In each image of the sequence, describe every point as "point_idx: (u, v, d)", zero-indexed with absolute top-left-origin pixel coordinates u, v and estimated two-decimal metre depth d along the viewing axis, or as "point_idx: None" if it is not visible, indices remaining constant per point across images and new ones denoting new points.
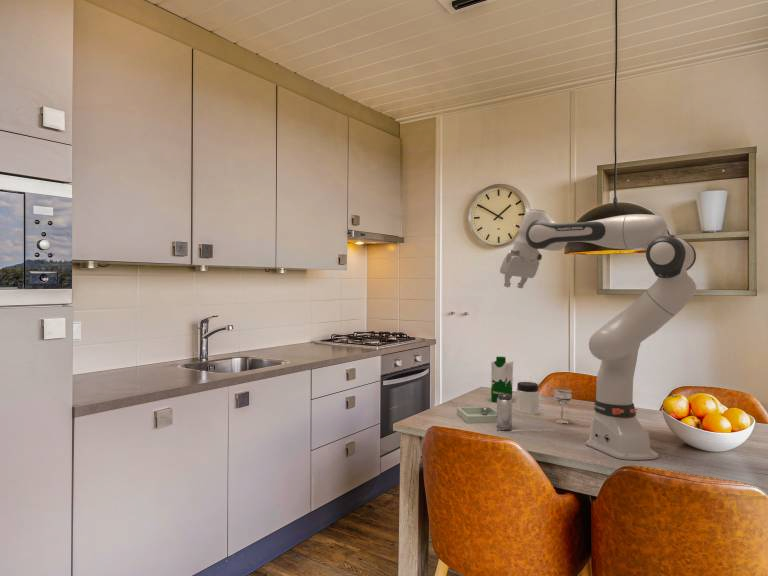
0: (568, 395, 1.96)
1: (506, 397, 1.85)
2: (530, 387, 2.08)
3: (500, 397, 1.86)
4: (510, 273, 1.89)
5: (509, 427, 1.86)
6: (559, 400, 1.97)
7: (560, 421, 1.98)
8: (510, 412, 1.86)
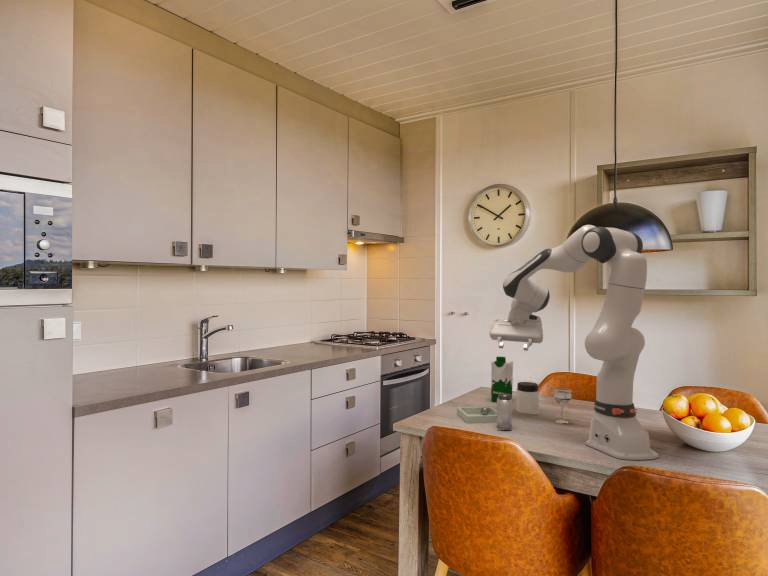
0: (568, 395, 1.96)
1: (506, 397, 1.85)
2: (530, 387, 2.08)
3: (500, 397, 1.86)
4: (494, 332, 2.04)
5: (509, 427, 1.86)
6: (559, 400, 1.97)
7: (560, 421, 1.98)
8: (510, 412, 1.86)
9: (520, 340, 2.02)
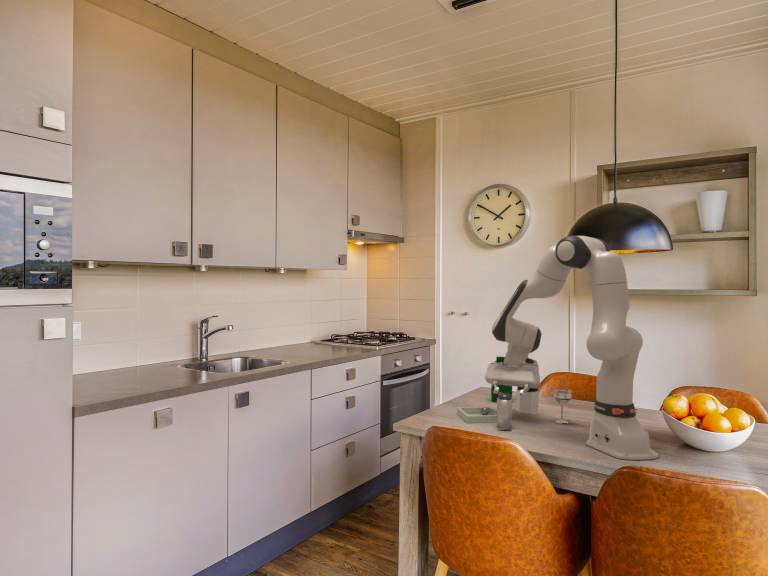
0: (568, 395, 1.96)
1: (506, 397, 1.85)
2: None
3: (500, 397, 1.86)
4: (490, 376, 2.00)
5: (509, 427, 1.86)
6: (559, 400, 1.97)
7: (560, 421, 1.98)
8: (510, 412, 1.86)
9: (516, 385, 1.97)
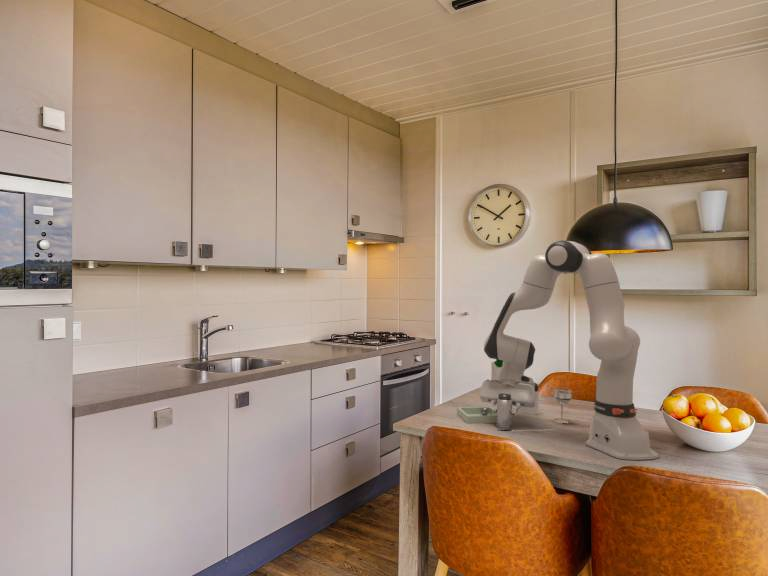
0: (568, 395, 1.96)
1: (506, 397, 1.86)
2: None
3: (500, 397, 1.86)
4: (484, 395, 1.93)
5: (509, 427, 1.86)
6: (559, 400, 1.97)
7: (560, 421, 1.98)
8: (510, 412, 1.86)
9: (512, 403, 1.90)
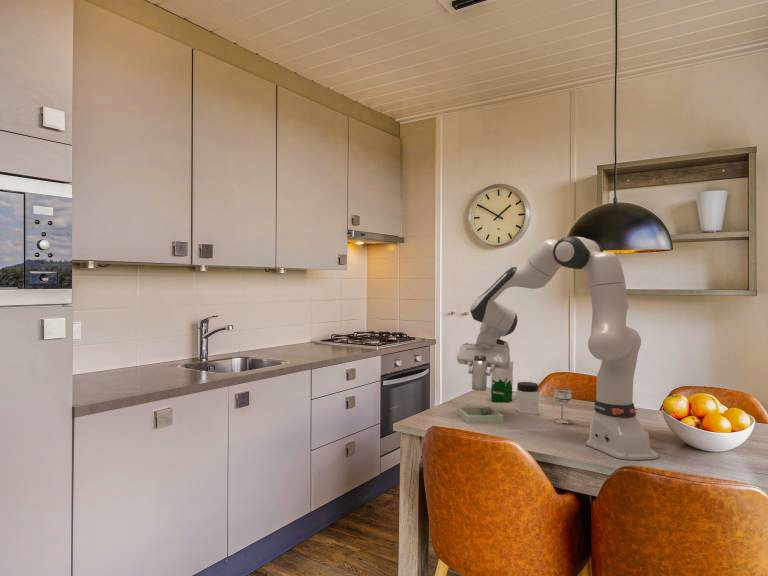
0: (568, 395, 1.96)
1: (481, 358, 1.95)
2: (530, 387, 2.08)
3: (475, 358, 1.96)
4: (461, 357, 2.02)
5: (483, 387, 1.95)
6: (559, 400, 1.97)
7: (560, 421, 1.98)
8: (485, 372, 1.95)
9: (487, 365, 1.99)
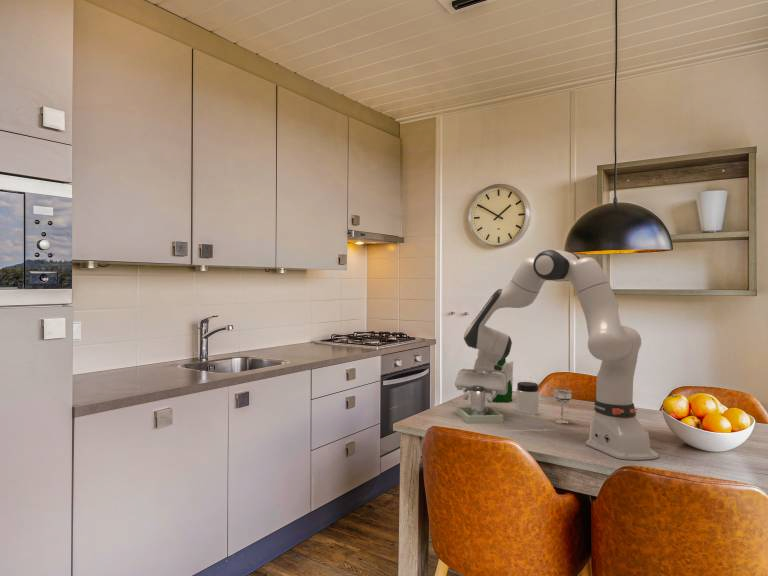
0: (568, 395, 1.96)
1: (479, 389, 1.95)
2: (530, 387, 2.08)
3: (473, 389, 1.96)
4: (459, 383, 2.03)
5: None
6: (559, 400, 1.97)
7: (560, 421, 1.98)
8: (483, 403, 1.96)
9: (485, 391, 2.00)
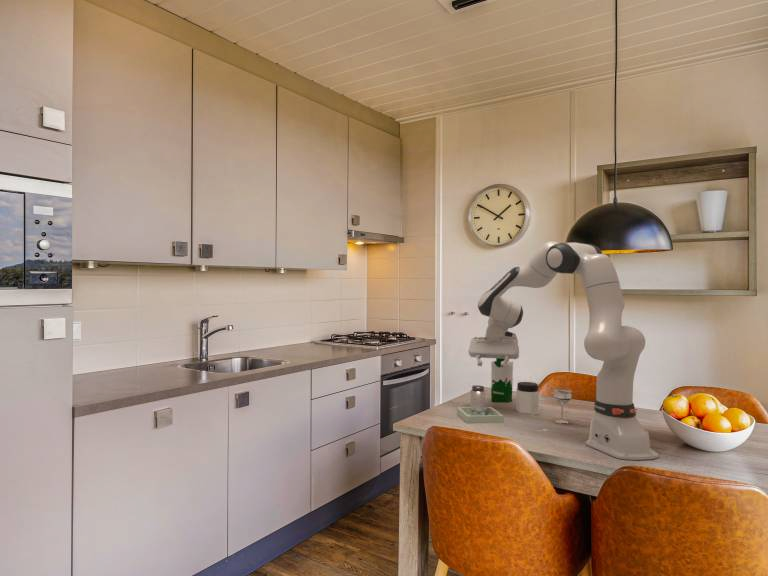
0: (568, 395, 1.96)
1: (479, 389, 1.95)
2: (530, 387, 2.08)
3: (473, 389, 1.96)
4: (473, 351, 2.14)
5: None
6: (559, 400, 1.97)
7: (560, 421, 1.98)
8: (483, 403, 1.96)
9: (497, 357, 2.11)
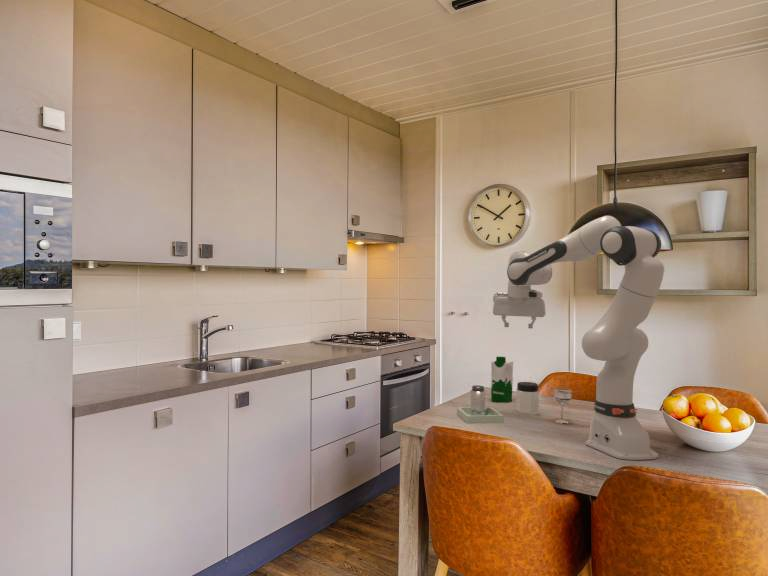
0: (568, 395, 1.96)
1: (479, 389, 1.95)
2: (530, 387, 2.08)
3: (473, 389, 1.96)
4: (497, 313, 2.09)
5: None
6: (559, 400, 1.97)
7: (560, 421, 1.98)
8: (483, 403, 1.96)
9: None
